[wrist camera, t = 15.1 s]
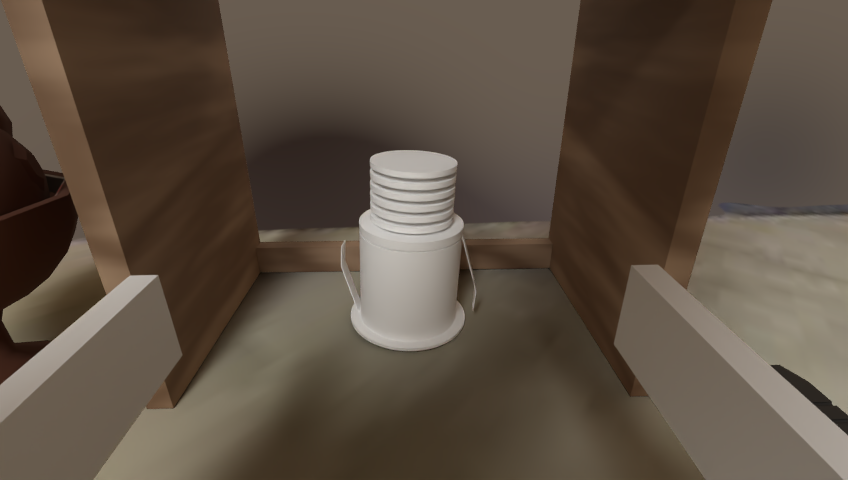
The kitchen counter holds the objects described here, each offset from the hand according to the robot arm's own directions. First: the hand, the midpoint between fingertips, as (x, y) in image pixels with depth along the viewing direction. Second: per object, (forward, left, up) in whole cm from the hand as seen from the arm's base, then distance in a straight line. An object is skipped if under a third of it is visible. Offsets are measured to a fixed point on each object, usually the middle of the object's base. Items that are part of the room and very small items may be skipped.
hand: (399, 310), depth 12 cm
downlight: (0, -12, -9) cm, 15 cm away
